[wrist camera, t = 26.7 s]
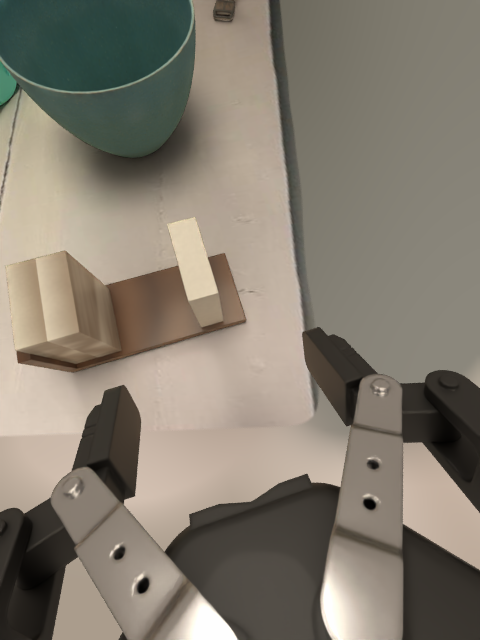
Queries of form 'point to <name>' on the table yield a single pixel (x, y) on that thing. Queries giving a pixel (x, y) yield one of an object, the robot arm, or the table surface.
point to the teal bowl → (104, 66)
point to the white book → (196, 271)
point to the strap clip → (224, 9)
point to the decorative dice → (6, 84)
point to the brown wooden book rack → (104, 312)
